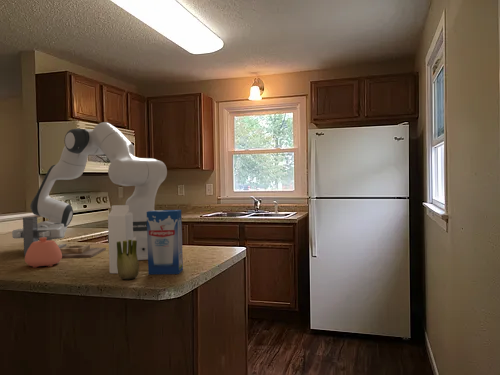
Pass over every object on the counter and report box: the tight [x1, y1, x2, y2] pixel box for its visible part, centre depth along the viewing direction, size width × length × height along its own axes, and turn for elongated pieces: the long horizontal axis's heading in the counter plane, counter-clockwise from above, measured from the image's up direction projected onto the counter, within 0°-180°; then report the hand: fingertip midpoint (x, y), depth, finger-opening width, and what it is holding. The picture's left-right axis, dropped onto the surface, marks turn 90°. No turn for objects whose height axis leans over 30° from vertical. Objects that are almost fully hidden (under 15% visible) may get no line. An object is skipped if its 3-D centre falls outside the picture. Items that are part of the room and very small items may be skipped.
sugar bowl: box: [24, 237, 63, 269], centre depth 156 cm, size 12×14×10 cm
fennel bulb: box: [117, 239, 140, 280], centre depth 130 cm, size 6×5×12 cm
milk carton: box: [147, 209, 184, 275], centre depth 138 cm, size 10×6×20 cm, turn 87°
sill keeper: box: [57, 243, 107, 259], centre depth 178 cm, size 22×18×3 cm
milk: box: [107, 204, 133, 274], centre depth 141 cm, size 6×6×22 cm
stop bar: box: [22, 216, 39, 257], centre depth 178 cm, size 4×4×16 cm
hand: (29, 235), depth 177 cm, fingers open, 8 cm apart
